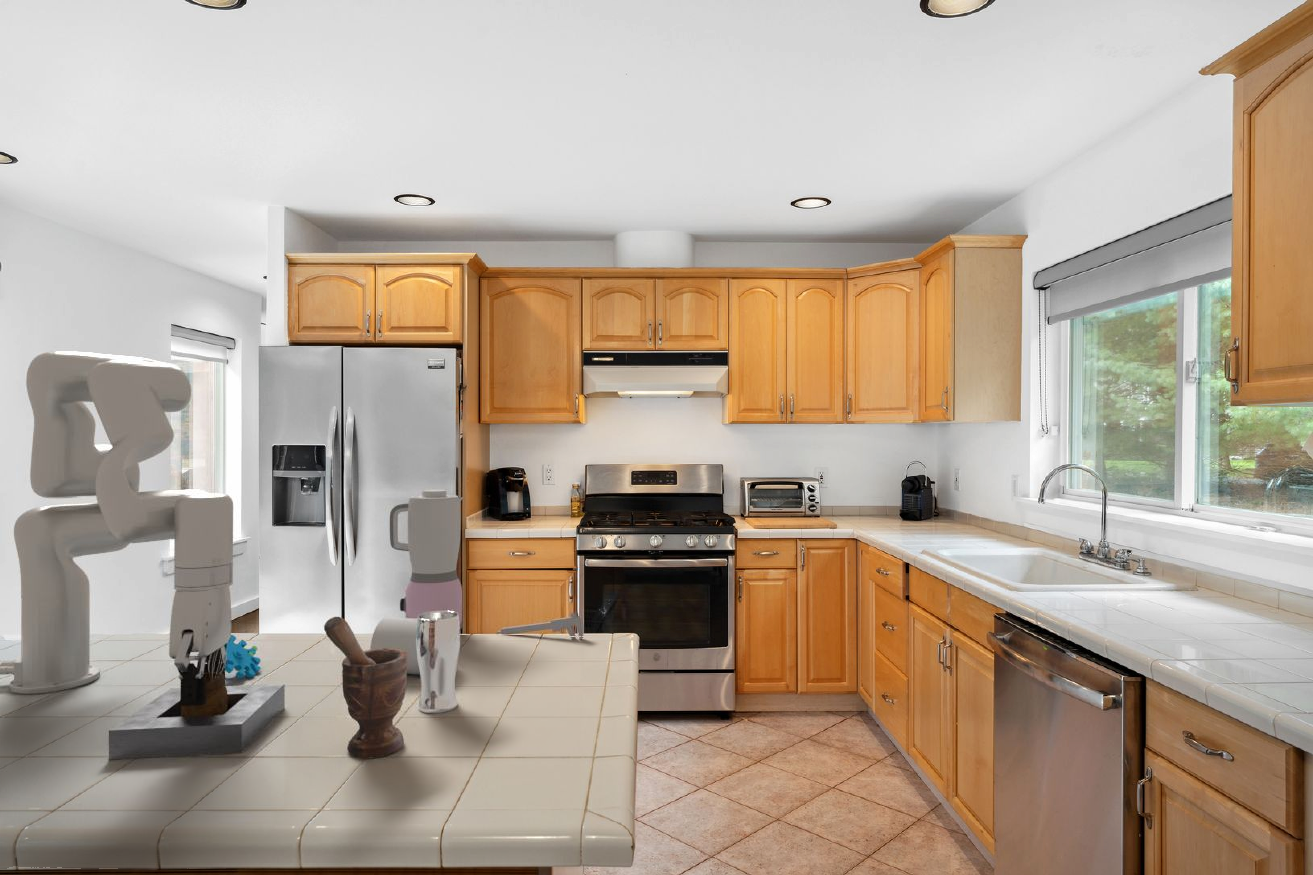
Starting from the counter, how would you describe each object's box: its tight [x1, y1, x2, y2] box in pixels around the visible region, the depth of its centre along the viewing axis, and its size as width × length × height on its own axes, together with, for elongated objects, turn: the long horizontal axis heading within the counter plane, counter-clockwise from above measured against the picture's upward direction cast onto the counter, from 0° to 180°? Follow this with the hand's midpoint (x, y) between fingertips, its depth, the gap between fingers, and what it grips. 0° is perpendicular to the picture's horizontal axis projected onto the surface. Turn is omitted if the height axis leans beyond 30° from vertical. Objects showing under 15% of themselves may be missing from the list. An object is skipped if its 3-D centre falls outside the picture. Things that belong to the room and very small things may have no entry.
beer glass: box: [416, 611, 461, 714], centre depth 122 cm, size 7×7×15 cm
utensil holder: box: [181, 648, 227, 717], centre depth 112 cm, size 6×6×12 cm
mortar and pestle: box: [323, 616, 408, 759], centre depth 104 cm, size 12×9×20 cm
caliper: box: [495, 611, 584, 641], centre depth 165 cm, size 20×1×6 cm, turn 76°
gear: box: [222, 634, 262, 679], centre depth 138 cm, size 11×6×10 cm
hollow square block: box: [108, 683, 286, 761], centre depth 111 cm, size 17×17×4 cm
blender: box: [389, 489, 464, 630], centre depth 166 cm, size 16×12×32 cm
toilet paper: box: [369, 617, 420, 676], centre depth 140 cm, size 10×10×10 cm
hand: (203, 695), depth 112 cm, fingers open, 5 cm apart
